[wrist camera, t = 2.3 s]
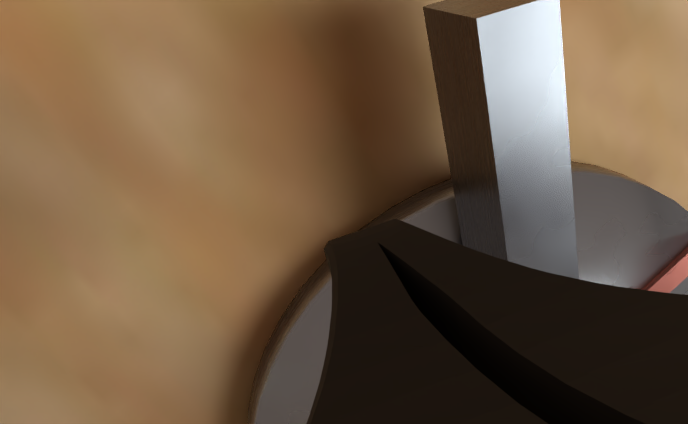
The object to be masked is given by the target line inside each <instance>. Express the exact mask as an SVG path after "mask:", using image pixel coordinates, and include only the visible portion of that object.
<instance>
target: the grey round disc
mask: <svg viewBox="0 0 688 424" xmlns="http://www.w3.org/2000/svg"><path fill="white" fill-rule="evenodd" d="M571 173H572V187H573V202H574V216H575V230H576V244H577V259H578V273H579V279H580V280H585V281H589V282H595V283H600V284H606V285H612V286H618V287H626V288H633V289H641V290H648V291H656V292H663V293H673V294H685V295H688V211H686V210H685V209H684V208H683V207H682V206H680V205H679V204H678V203H677V202H675V201H674V200H672V199H670V198H668V197H667V196H665V195H663V194H661V193H659V192H657V191H655V190H653V189H652V188H650V187H648V186H646V185H644V184H642V183H640V182H638V181H636V180H634V179H632V178H629V177H627V176H625V175H623V174H620V173H617V172H614V171H611V170H608V169H605V168H602V167H599V166H596V165H590V164H583V163H577V162H571ZM392 219H398V220H401V221H404V222H406V223H409V224H411V225H414V226H416V227H418V228H421V229H423V230H426V231H428V232H430V233H433V234H435V235H438V236H440V237H443V238H445V239H448V240H450V241H453V242H455V243H458V244H460V245H463V244H462V238H461V232H460V226H459V220H458V214H457V208H456V202H455V196H454V190H453V184H452V179H449V180H447V181H444V182H442V183H439V184H437V185H434V186H432V187H429V188H427V189H425V190H423V191H421V192H419V193H417V194H415V195H414V196H412V197H410V198H408V199H406V200H404V201H403V202H401V203H399V204H397V205H395V206H393V207H392V208H390V209H388V210H387V211H386V212H384V213H383V214H381V215H380V216H379V217H377V218H376V219H374V220H373V221H371V222H370V223H369V224H367V225H366V226H364V227H363V228H362V229H360V230H363V229H366V228H369V227H372V226H375V225H378V224H381V223H384V222H386V221H389V220H392ZM360 230H359V231H360ZM331 310H332V277H331V273H330V269H329V266H328V262H327V260H326V261H325V262H324V263H323V264H322V265H321V266H320V267H319V269H318V270H317V271H316V272H315V273H314V274H313V275H312V276H311V278H310V279H309V280H308V281H307V282H306V283H305V284H304V285H303V287H302V288H301V290H300V291H299V292H298V294H297V295H296V297H295V298H294V300H293V301H292V302H291V304H290V305H289V307H288V308H287V310H286V311H285V313H284V314H283V315H282V317H281V319H280V321H279V323H278V325H277V327H276V329H275V331H274V332H273V334H272V336H271V338H270V340H269V342H268V344H267V346H266V348H265V351H264V353H263V356H262V359H261V362H260V365H259V367H258V370H257V373H256V376H255V379H254V383H253V388H252V393H251V399H250V404H249V409H248V424H307V421H308V418H309V415H310V412H311V408H312V405H313V402H314V399H315V395H316V392H317V389H318V386H319V382H320V378H321V374H322V369H323V365H324V360H325V356H326V350H327V344H328V337H329V329H330V320H331Z"/></svg>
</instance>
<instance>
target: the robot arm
mask: <svg viewBox="0 0 688 424" xmlns="http://www.w3.org/2000/svg"><path fill="white" fill-rule="evenodd" d="M324 252H325V255H326V259H327V262H328V266H329V269H330V273H331V277H332V310H331V320H330V329H329V337H328V344H327V350H326V356H325V360H324V365H323V369H322V374H321V378H320V382H319V386H318V389H317V392H316V395H315V399H314V402H313V405H312V408H311V412H310V415H309V418H308V421H307V424H688V295H685V294H673V293H663V292H656V291H648V290H641V289H633V288H626V287H618V286H612V285H606V284H600V283H595V282H589V281H585V280H580V279H576V278H571V277H566V276H562V275H557V274H552V273H548V272H544V271H541V270H537V269H533V268H529V267H526V266H523V265H519V264H516V263H513V262H510V261H506V260H503V259H500V258H497V257H494V256H491V255H488V254H485V253H482V252H479V251H476V250H474V249H471V248H468V247H466V246H463V245H460V244H458V243H455V242H453V241H450V240H448V239H445V238H443V237H440V236H438V235H435V234H433V233H430V232H428V231H426V230H423V229H421V228H418V227H416V226H414V225H411V224H409V223H406V222H404V221H401V220H398V219H392V220H389V221H386V222H384V223H381V224H378V225H375V226H372V227H369V228H366V229H363V230H360V231H357V232H354V233H351V234H348V235H345V236H342V237H340V238H337V239H334V240H331V241H328V243H327V245H326V246H325V248H324Z"/></svg>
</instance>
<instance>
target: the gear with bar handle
mask: <svg viewBox="0 0 688 424" xmlns="http://www.w3.org/2000/svg"><path fill="white" fill-rule="evenodd" d="M423 10H424V16H425V22H426V28H427V34H428V40H429V46H430V52H431V58H432V64H433V70H434V76H435V82H436V88H437V94H438V100H439V106H440V112H441V118H442V124H443V130H444V136H445V142H446V148H447V154H448V160H449V166H450V172H451V178H452V184H453V190H454V196H455V202H456V208H457V214H458V220H459V226H460V232H461V238H462V244H463V246H466V247H468V248H471V249H474V250H476V251H479V252H482V253H485V254H488V255H491V256H494V257H497V258H500V259H503V260H506V261H510V262H513V263H516V264H519V265H523V266H526V267H529V268H533V269H537V270H541V271H544V272H548V273H552V274H557V275H562V276H566V277H571V278H576V279H579V273H578V259H577V244H576V230H575V216H574V202H573V187H572V173H571V159H570V144H569V130H568V116H567V101H566V87H565V73H564V59H563V44H562V30H561V16H560V1H559V0H444V1H441V2H437V3H434V4H430V5H427V6H424V7H423Z"/></svg>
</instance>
